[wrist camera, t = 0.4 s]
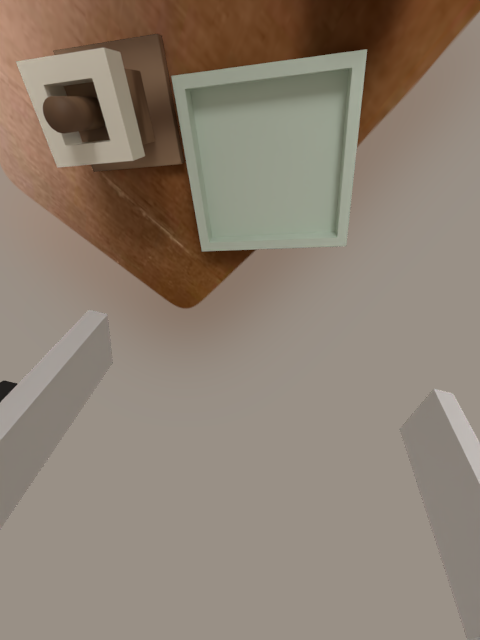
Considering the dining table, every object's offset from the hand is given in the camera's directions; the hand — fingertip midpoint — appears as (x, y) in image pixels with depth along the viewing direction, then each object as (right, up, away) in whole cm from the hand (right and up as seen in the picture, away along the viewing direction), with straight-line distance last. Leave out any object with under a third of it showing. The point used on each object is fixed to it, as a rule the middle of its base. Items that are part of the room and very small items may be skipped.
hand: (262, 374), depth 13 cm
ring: (-13, +20, +13) cm, 27 cm away
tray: (+2, +18, +19) cm, 26 cm away
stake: (-12, +23, +18) cm, 32 cm away
